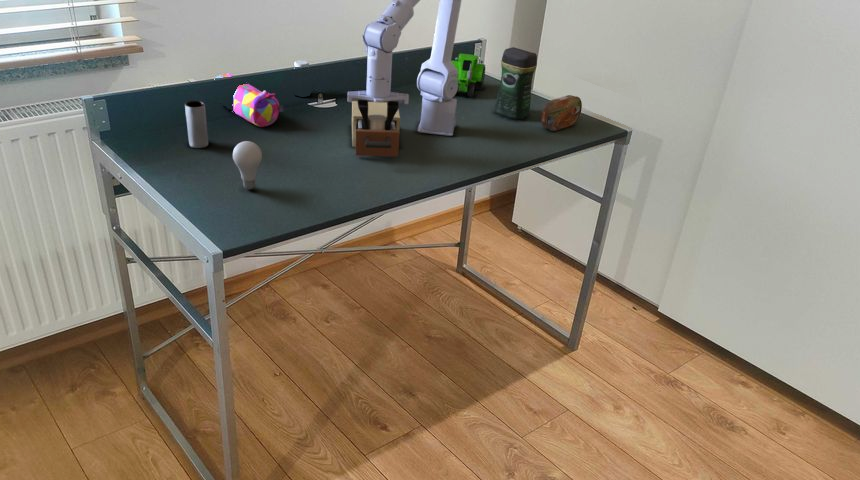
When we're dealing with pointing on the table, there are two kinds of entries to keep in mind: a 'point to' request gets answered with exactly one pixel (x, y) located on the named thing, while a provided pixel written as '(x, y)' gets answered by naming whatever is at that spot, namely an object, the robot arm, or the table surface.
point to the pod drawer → (376, 141)
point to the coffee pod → (377, 122)
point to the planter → (196, 124)
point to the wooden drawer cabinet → (372, 109)
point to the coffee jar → (516, 83)
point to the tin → (561, 112)
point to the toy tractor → (469, 73)
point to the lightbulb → (247, 162)
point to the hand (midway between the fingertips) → (376, 130)
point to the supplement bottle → (301, 63)
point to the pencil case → (255, 104)
